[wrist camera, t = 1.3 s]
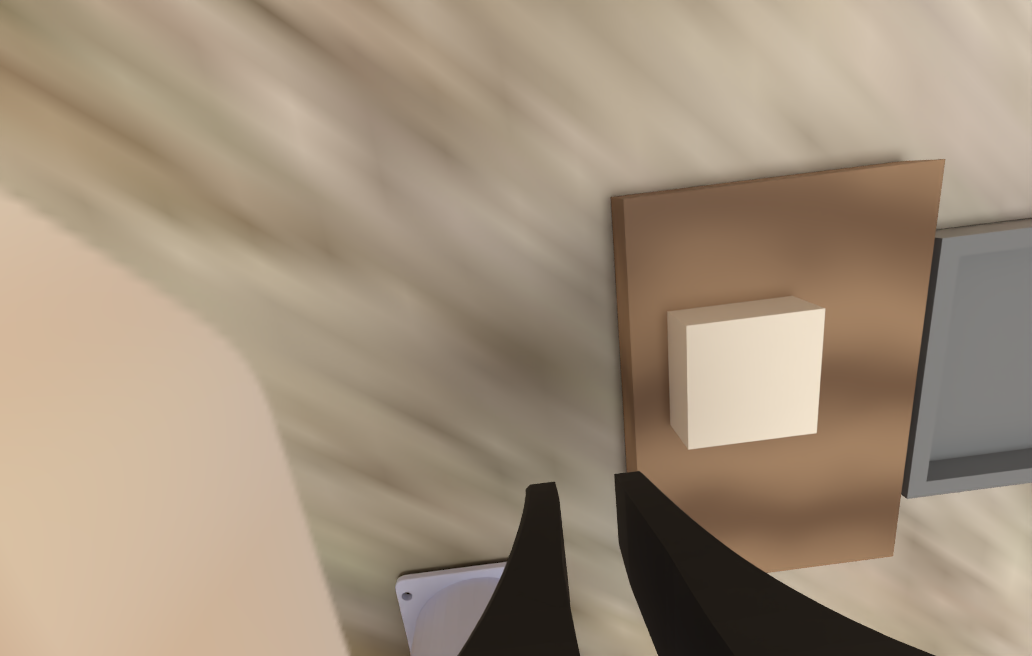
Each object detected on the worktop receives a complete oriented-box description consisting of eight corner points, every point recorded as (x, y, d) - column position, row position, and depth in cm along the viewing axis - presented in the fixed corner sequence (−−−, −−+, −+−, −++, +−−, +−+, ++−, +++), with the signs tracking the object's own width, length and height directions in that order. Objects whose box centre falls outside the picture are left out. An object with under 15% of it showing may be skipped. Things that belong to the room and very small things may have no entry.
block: (786, 409, 21) (816, 433, 19) (670, 424, 21) (688, 449, 19) (792, 295, 19) (825, 308, 17) (667, 311, 19) (686, 325, 17)
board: (862, 527, 25) (893, 556, 23) (631, 557, 25) (643, 588, 23) (901, 161, 20) (945, 159, 18) (610, 197, 20) (623, 198, 18)
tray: (1094, 448, 24) (1140, 468, 23) (877, 476, 24) (907, 498, 23) (1157, 202, 21) (1217, 203, 19) (905, 233, 21) (942, 238, 19)
